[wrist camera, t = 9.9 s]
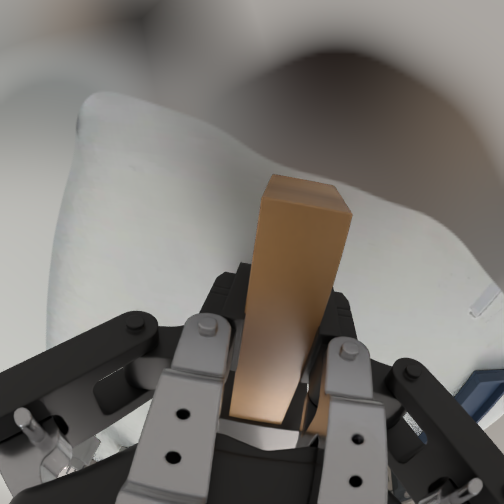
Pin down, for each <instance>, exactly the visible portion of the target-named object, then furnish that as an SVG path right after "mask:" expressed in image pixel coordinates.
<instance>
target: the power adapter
mask: <svg viewBox="0 0 504 504" xmlns="http://www.w3.org/2000/svg"><path fill="white" fill-rule="evenodd" d="M100 443H101V442H100V441H99V440H98V439H97V438H96V437H95V436H92V437H91V438H89V439H87V440H86V441H84V442H82V443H81V444H79V445H77V446H76V447H74V448H72V459H71V461H70V464H69V468H68V470H67V472H66V474H67V473H68V471H69V470H70V468H71V467H72V468H74V469H75V470H74V472H75V471H76V470H80V469H82V467H83V465H84V464H85V465H87V466H89V464H90V462H91V460H92V458H93V456H94V454H95V452H96V450H97V449H98V447H99V445H100Z"/></svg>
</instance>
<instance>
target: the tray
mask: <svg viewBox="0 0 504 504" xmlns="http://www.w3.org/2000/svg"><path fill="white" fill-rule="evenodd" d="M503 394H504V369H500V370H484V371H474V372H473V374H472V375H471V377H470V378H469V379H468V381H467V382H466V383H465V384H464V386H463V387H462V388H461V390H460V391H459V392H458V393H457V395H456V396H455V397H454V398H455V399H456V401H457V402H458V403H459V404H460V405H461V406H462V407H463V408H464V409H465V411H466V412H467V413H468V414H469V415H470V416H471V417H472V418H473V420H474V421H475V422H476V423H478V422H479V421H480V420H481V419H482V418H483V417H484V416H485V415H486V414H487V412H488V411H489V410H490V409H491V408H492V407H493V406H494V405H495V404H496V402H497V401H498V400H499V399H500V398H501V397H502V395H503ZM418 437H419V438H420V440H421V441H422V442H423V443H424V444H427V437H426V434H425V433H424V432H422V433H421V434H420V435H419V436H418Z"/></svg>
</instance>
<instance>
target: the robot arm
mask: <svg viewBox="0 0 504 504" xmlns="http://www.w3.org/2000/svg"><path fill="white" fill-rule="evenodd" d="M251 265H252V264H248V263H243V262H241V263H240V265H239V268H238V270H237V273H236V274H235V273H229V272H224V273H223V274H221V275H220V276H218V277H217V278H216V280H215V282H214V284H213V286H212V288H211V290H210V292H209V294H208V296H207V298H206V300H205V302H204V304H203V306H202V308H201V310H200V313H199V314H195V315H193V316H191V317H190V318H189V319H188V320H187V321H186V323H185V325H183V326H177V327H166V326H158V322H157V320H156V318H155V317H154V316H152V315H151V314H149V313H146V312H143V311H130V312H126V313H124V314H122V315H119V316H117V317H115V318H113V319H111V320H109V321H107V322H105V323H103V324H101V325H99V326H97V327H94V328H92V329H90V330H88V331H86V332H84V333H82V334H80V335H78V336H76V337H74V338H72V339H70V340H67V341H65V342H63V343H61V344H59V345H57V346H55V347H53V348H51V349H49V350H47V351H45V352H42V353H41V354H38V355H36V356H34V357H32V358H30V359H28V360H26V361H24V362H22V363H20V364H18V365H16V366H13V367H11V368H9V369H7V370H5V371H3V372H1V373H0V473H1V475H2V477H3V479H4V481H5V483H6V485H7V487H8V489H9V490H10V492H11V494H12V496H13V499H12V500H11V502H10V503H9V504H402V503H401V502H400V501H399V500H398V499H397V498H396V497H395V496H394V495H393V494H392V493H391V492H390V491H389V489H388V466H389V468H390V469H391V471H392V472H393V473H394V475H395V476H396V478H397V479H398V480H399V482H400V483H401V485H402V486H403V487H404V489H405V490H406V492H407V493H408V494H409V496H410V497H411V498H412V500H413V501H414V503H415V504H504V455H503V453H502V452H501V451H500V450H499V449H498V447H497V446H496V445H495V444H494V443H493V441H492V440H491V439H490V438H489V437H488V436H487V434H486V433H485V432H484V431H483V430H482V429H481V427H480V426H479V425H478V424H477V423H476V422H475V421H474V420H473V418H472V417H471V416H470V415H469V414H468V413H467V412H466V411H465V409H464V408H463V407H462V406H461V405H460V404H459V403H458V402H457V401H456V399H455V398H454V397H453V396H452V395H451V394H450V393H449V392H448V391H447V390H446V389H445V388H444V386H443V385H442V384H441V383H440V382H439V381H438V380H437V379H436V378H435V377H434V376H433V375H432V374H431V373H430V372H429V371H428V369H427V368H426V367H425V366H424V365H423V364H421V363H420V362H418V361H416V360H414V359H411V358H401V359H398V360H397V361H396V362H395V363H394V364H393V366H389V365H386V364H383V363H380V362H377V361H375V360H373V359H371V358H370V353H369V351H368V349H367V347H366V346H365V345H364V344H363V343H361V342H360V341H358V340H357V335H356V331H355V326H354V322H353V318H352V314H351V311H350V305H349V301H348V300H347V299H346V297H345V296H344V295H343V294H342V293H340V292H334V289H333V287H332V290H331V293H330V297H329V300H328V303H327V306H326V309H325V312H324V315H323V318H322V321H321V324H320V326H318V329H317V332H316V335H315V338H314V340H313V343H312V346H311V349H310V351H309V354H308V357H307V360H306V362H305V365H304V367H303V370H302V373H301V375H300V382H301V383H308V384H309V390H308V393H307V395H306V397H305V400H304V406H303V412H302V418H301V424H300V430H299V435H298V440H297V444H296V447H295V448H291V449H282V450H271V451H267V450H262V449H259V448H257V447H254V446H252V445H249V444H247V443H244V442H242V441H239V440H237V439H235V438H232V437H230V436H228V435H225V434H220V433H218V431H219V423H220V416H221V408H222V401H223V394H224V386H225V382H226V381H227V378H228V374H229V371H230V370H231V371H236V370H237V366H238V361H239V354H240V348H241V342H242V335H243V329H244V323H245V316H246V314H245V313H244V312H245V305H246V298H247V292H248V285H249V278H250V271H251ZM122 367H123V368H122ZM120 368H121V369H120ZM117 370H118V371H117ZM115 371H116V372H115ZM113 372H114V373H113ZM110 374H111V375H110ZM108 375H109V376H108ZM106 376H107V377H106ZM103 378H104V379H103ZM101 379H102V380H101ZM99 380H100V381H99ZM152 398H153V399H152ZM150 399H152V402H151V405H150V408H149V411H148V414H147V417H146V420H145V423H144V426H143V429H142V432H141V436H140V439H139V442H138V443H137V444H135V445H133V446H131V447H129V448H127V449H125V450H123V451H121V452H118V453H116V454H114V455H112V456H110V457H108V458H105V459H103V460H101V461H99V462H96V463H94V464H92V465H90V466H87V467H85V468H82V469H80V470H77V471H75V472H72V473H70V474H67V475H65V476H62V477H59V478H57V477H58V475H59V473H60V472H61V471H62V470H63V469H65V468H67V467H68V466H69V464H70V461H71V459H72V448H74V447H76V446H77V445H79V444H81V443H82V442H84V441H86V440H87V439H89V438H91V437H92V436H94V435H96V434H97V433H99V432H101V431H102V430H104V429H105V428H107V427H109V426H110V425H112V424H113V423H115V422H117V421H118V420H120V419H121V418H123V417H124V416H126V415H127V414H129V413H131V412H132V411H134V410H135V409H137V408H138V407H140V406H141V405H143V404H144V403H146V402H147V401H149V400H150ZM406 412H408V413H409V414H410V416H411V417H412V418H413V419H414V420H415V422H416V423H417V424H418V425H419V427H420V428H421V429H422V430H423V432H424V433H425V434H426V437H427V444H424V443H423V442H422V441H421V440H420V438H419V437H418V436H417V435H416V433H415V432H414V431H413V430H412V428H411V427H410V426H409V425H408V423H407V422H406V421H405V420H404V418H403V416H404V415H405V414H406Z"/></svg>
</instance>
